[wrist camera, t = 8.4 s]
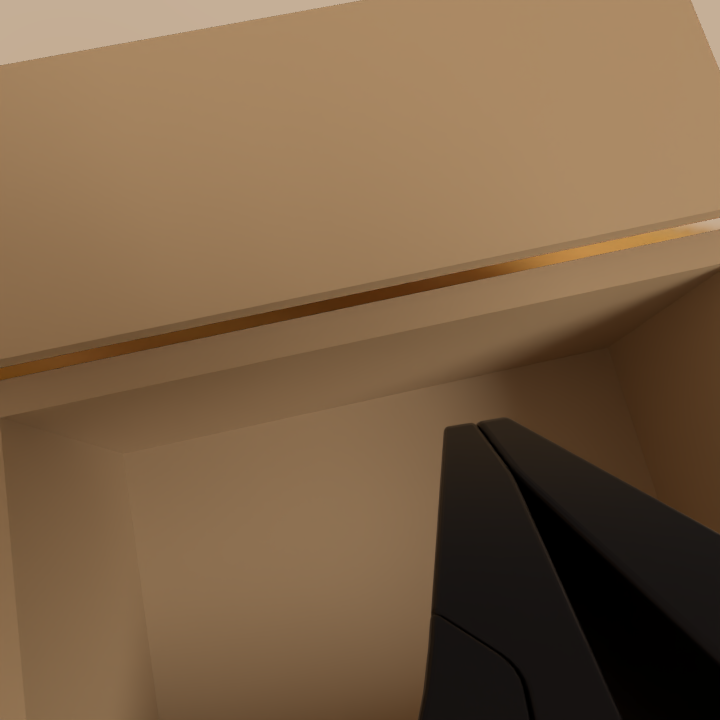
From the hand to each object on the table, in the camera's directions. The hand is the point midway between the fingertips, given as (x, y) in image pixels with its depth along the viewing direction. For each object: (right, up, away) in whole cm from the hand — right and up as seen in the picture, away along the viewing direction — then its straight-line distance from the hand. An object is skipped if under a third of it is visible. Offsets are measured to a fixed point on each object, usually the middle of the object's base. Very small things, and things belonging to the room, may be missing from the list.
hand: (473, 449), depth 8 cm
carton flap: (-1, +3, +5) cm, 6 cm away
